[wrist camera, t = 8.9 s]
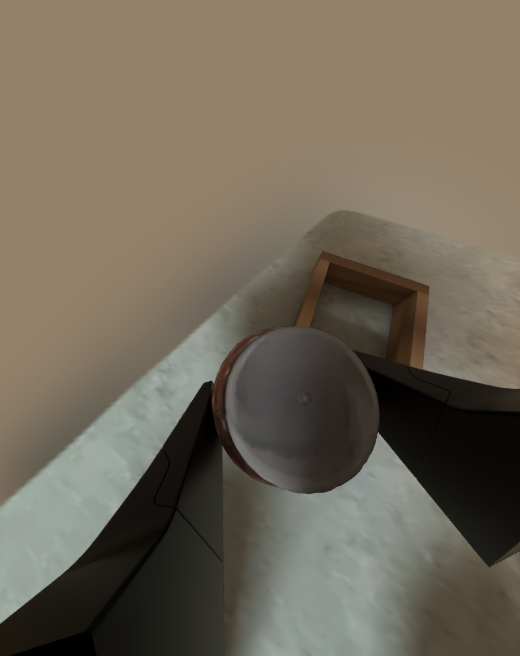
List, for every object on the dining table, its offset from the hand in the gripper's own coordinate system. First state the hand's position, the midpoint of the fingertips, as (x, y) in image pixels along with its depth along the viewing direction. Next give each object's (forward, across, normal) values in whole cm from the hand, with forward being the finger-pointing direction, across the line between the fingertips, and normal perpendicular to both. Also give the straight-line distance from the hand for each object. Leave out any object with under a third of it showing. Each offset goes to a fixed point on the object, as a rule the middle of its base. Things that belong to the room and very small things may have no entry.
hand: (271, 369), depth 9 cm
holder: (+7, -10, +4) cm, 13 cm away
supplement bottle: (+4, 0, +6) cm, 7 cm away
